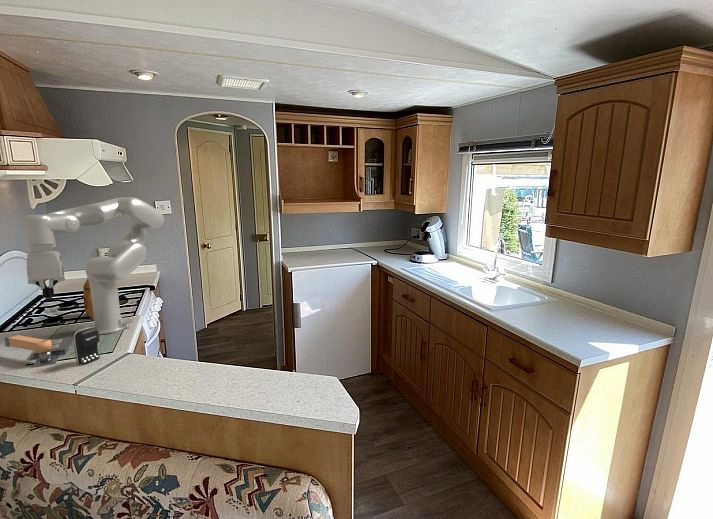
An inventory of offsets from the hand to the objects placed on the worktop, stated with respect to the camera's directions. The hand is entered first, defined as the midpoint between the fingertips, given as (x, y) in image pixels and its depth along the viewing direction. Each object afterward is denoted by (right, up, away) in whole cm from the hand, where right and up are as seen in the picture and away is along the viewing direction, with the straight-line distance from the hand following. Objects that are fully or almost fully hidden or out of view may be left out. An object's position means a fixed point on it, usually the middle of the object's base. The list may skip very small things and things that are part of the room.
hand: (49, 298), depth 141 cm
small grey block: (+8, -21, -11) cm, 25 cm away
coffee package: (-11, -13, +44) cm, 47 cm away
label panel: (+2, -19, 0) cm, 19 cm away
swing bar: (0, -16, -9) cm, 19 cm away
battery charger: (+23, -21, -11) cm, 33 cm away
